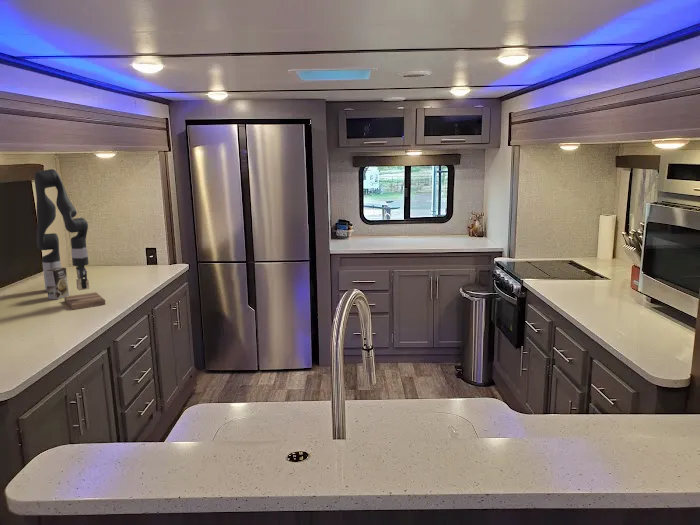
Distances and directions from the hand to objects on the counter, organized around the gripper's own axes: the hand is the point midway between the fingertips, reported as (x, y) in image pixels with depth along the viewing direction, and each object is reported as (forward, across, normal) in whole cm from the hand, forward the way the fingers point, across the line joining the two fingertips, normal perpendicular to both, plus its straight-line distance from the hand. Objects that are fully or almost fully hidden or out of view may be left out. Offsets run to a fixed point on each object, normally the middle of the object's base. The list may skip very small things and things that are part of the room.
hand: (83, 287), depth 293 cm
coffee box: (+9, -21, -9) cm, 24 cm away
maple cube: (+1, 0, 0) cm, 1 cm away
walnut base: (+9, 0, 0) cm, 9 cm away
